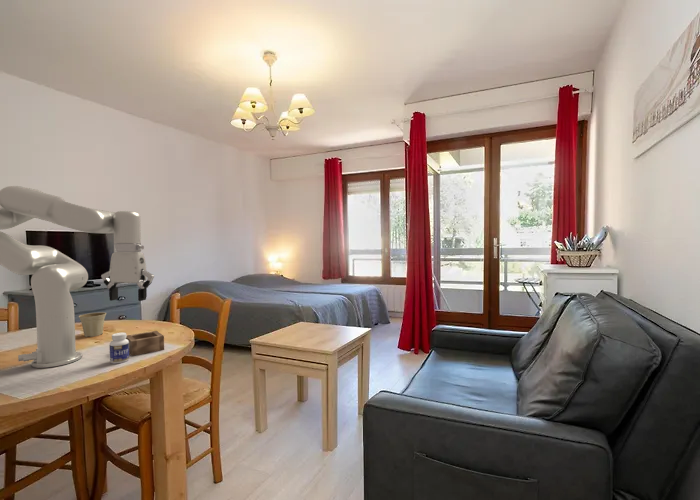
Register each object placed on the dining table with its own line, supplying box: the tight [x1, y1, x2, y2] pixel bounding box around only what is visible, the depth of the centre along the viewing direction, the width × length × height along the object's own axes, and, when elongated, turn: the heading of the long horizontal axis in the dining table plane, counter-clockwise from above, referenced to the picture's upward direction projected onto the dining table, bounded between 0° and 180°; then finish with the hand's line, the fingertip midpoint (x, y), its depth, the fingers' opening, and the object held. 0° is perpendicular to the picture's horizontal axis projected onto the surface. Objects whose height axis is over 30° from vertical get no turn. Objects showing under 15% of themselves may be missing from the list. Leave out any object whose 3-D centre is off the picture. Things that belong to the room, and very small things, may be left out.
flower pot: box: [78, 311, 107, 338], centre depth 147 cm, size 9×9×9 cm
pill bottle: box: [109, 332, 130, 364], centre depth 115 cm, size 5×5×9 cm
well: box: [126, 330, 165, 357], centre depth 127 cm, size 10×10×5 cm
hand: (128, 300), depth 118 cm, fingers open, 9 cm apart
